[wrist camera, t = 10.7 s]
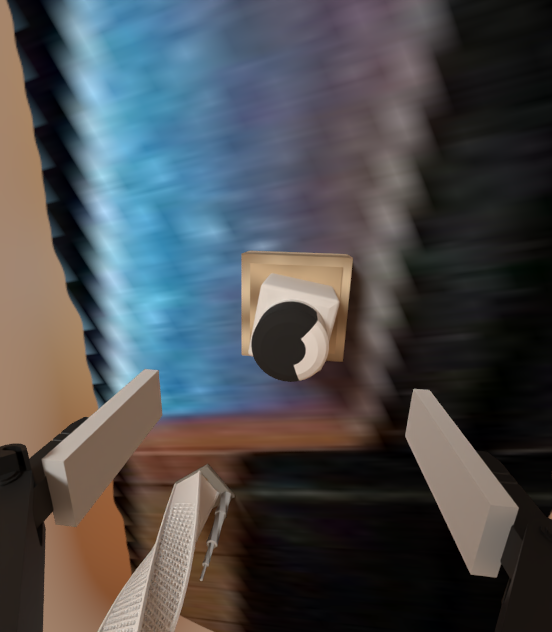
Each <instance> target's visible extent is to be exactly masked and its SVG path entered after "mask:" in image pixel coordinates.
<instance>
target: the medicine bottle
mask: <svg viewBox="0 0 552 632" xmlns="http://www.w3.org/2000/svg"><path fill="white" fill-rule="evenodd" d="M339 304H340V302H339V299H338V297H337V295H336V293H335V291H334V288H333V287H332V286H329V285H324V284H320V283H315V282H311V281H306V280H302V279H297V278H293V277H288V276H284V275H279V274H275V273H271V274H270V275H269V276H268V277H267V279H266V280H265V281H264V282H263V284H262V285H261V288H260V294H259V299H258V304H257V309H256V314H255V319H254V324H253V330H252V335H251V340H250V345H249V350H248V353H249V355H250V356H254V359H255V361H256V363H257V364H258V366H259V367H260V368H261V369H262V370H263V371H264V372H265V373H267V374H268V375H269V376H271V377H273V378H275V379H278V380H282V381H289V382H294V381H301V380H304V379H307V378H309V377H311V376H312V375H314V374H315V373H316V372H318V371H320V370H321V369H322V366H323V365H324V363H325V361H326V359H327V356H328V351H329V341H330V337H331V333H332V330H333V326H334V322H335V319H336V315H337V312H338V308H339Z"/></svg>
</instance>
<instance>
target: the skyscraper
mask: <svg viewBox="0 0 552 632" xmlns="http://www.w3.org/2000/svg"><path fill="white" fill-rule="evenodd" d="M234 496H235V494H234V493H233V492H232V491H231V490H230V489H229V488H228V486H227V485H226V484H225V483H224V482H223V481H222V480H221V478H220V477H219V476H218V475H217V474H216V473H215V472H214V470H213V469H212V468H211V467H210V466H209V465H208V464H207V465H205V466H203V467H202V468H200V469H198V470H196V471H195V472H193V473H191V474H189V475H188V476H186V477H184V478H182V479H181V480H179V481H177V482H176V483H175V484H174V487H173V490H172V493H171V496H170V499H169V502H168V505H167V508H166V511H165V514H164V517H163V520H162V523H161V527H160V530H159V534H158V537H157V541H156V543H155V545H154V547H153V549H152V550H151V552H150V553H149V554H148V555H147V557H146V558H145V559H144V560H143V562H142V563H141V564H140V565H139V567H138V568H137V569H136V571H135V572H134V573H133V575H132V576H131V577H130V579H129V580H128V582H127V583H126V585H125V586H124V587H123V589H122V591H121V592H120V594H119V595H118V597H117V598H116V600H115V602H114V603H113V605H112V607H111V608H110V610H109V611H108V613H107V615H106V617H105V619H104V621H103V622H102V624H101V626H100V628H99V630H98V632H174V631H175V628H176V625H177V621H178V618H179V615H180V611H181V608H182V604H183V601H184V597H185V593H186V589H187V585H188V580H189V575H190V571H191V566H192V560H193V555H194V548H195V543H196V541H197V539H198V537H199V535H200V533H201V531H202V529H203V527H204V525H205V523H206V521H207V519H208V516H209V514H210V512H211V510H212V509H213V508H215V507H216V506H218V507H217V509H216V511H215V520H214V524H213V527H212V530H211V532H210V535H209V537H208V540H207V547H208V550H207V553H206V556H205V559H204V561H203V566H204V568H203V571H202V574H201V577H200V581H203V577H204V573H205V570H206V567H208V566H209V563H210V559H211V554H212V551H213V549H214V548H215V547H217V545H218V540H219V536H220V531H221V527H222V524H223V522H224V520H225V518H226V516H227V511H228V506H229V503H230V501H231V499H232V498H234Z"/></svg>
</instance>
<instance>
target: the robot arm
mask: <svg viewBox="0 0 552 632" xmlns="http://www.w3.org/2000/svg"><path fill="white" fill-rule="evenodd" d="M161 416H162V406H161V394H160V382H159V370H148V369H144V370H143V371H142V372H141V373H140V374H139V375H138V376H136V377H135V378H134V379H133V380H132V381H131V382H129V383H128V384H127V385H126V386H125V387H124V388H123V389H121V390H120V391H119V392H118V393H117V394H116V395H115V396H113V397H112V398H111V399H110V400H109V401H108V402H107V403H105V404H104V405H103V406H102V407H101V408H100V409H98V410H97V411H96V412H95V413H94V414H93V415H92V416H90V417H83V418H82V419H80V420H78V421H76V422H74V423H72V424H70V425H69V426H68V427H67V428H66V429H64V430H63V431H62V432H61V434H59V435H57V436H56V437H55V438H54V439H53V441H50V442H49V443H48V444H47V445H46V446H44V447H43V448H42V449H40V450H39V451H38V452H37V453H36V454H34V455H33V456H32V457H31V458H30V459H29V457H28V452H27V448H26V446H25V445H23V444H9V445H4V446H1V447H0V632H43V603H44V567H45V565H44V564H45V530H46V529H45V524H44V521H45V519H46V518H47V517H48V516H49V515H50V514H51V513H52V512H53V514H54V518H55V523H56V524H57V525H65V526H73V527H77V525H78V524H79V523H80V521H81V520H82V519H83V518H84V516H85V515H86V513H87V512H88V511H89V510H90V508H91V507H92V506H93V504H94V503H95V502H96V500H97V499H98V498H99V497H100V496H101V494H102V493H103V492H104V490H105V489H106V488H107V486H108V485H109V484H110V483H111V481H112V480H113V479H114V477H115V476H116V475H117V473H118V472H119V471H120V470H121V468H122V467H123V466H124V464H125V463H126V462H127V460H128V459H129V458H130V457H131V455H132V454H133V453H134V451H135V450H136V449H137V448H138V446H139V445H140V444H141V442H142V441H143V440H144V438H145V437H146V436H147V435H148V433H149V432H150V431H151V429H152V428H153V427H154V425H155V424H156V423H157V422H158V420H159V419H160V418H161ZM405 437H406V439H407V441H408V443H409V445H410V447H411V450H412V452H413V454H414V456H415V458H416V460H417V462H418V464H419V466H420V469H421V471H422V473H423V475H424V477H425V479H426V481H427V483H428V485H429V488H430V490H431V492H432V494H433V496H434V498H435V500H436V502H437V504H438V506H439V509H440V511H441V513H442V515H443V517H444V519H445V521H446V523H447V525H448V528H449V530H450V532H451V534H452V536H453V538H454V540H455V542H456V544H457V547H458V549H459V551H460V553H461V555H462V557H463V559H464V561H465V563H466V566H467V568H468V570H469V572H470V574H471V575H480V576H488V577H496V578H497V575H498V571H499V568H500V565H501V563H502V565H503V567H504V569H505V570H506V572H507V574H508V575H509V577H510V578H509V581H508V584H507V587H506V590H505V593H504V596H503V599H502V602H501V603H502V606H501V610H500V614H499V617H498V621H497V625H496V629H495V632H552V519H549V518H547V517H546V516H545V515H544V514H543V513H542V511H541V510H540V509H539V508H538V507H537V505H536V504H535V503H534V502H533V501H532V499H531V498H530V497H529V496H528V495H527V493H526V492H525V491H524V490H523V489H522V487H521V486H520V485H518V484H517V481H516V480H515V479H514V478H513V477H512V475H510V473H509V472H508V470H507V469H506V468H505V467H504V466H503V464H502V463H501V462H500V461H499V460H497V459H496V458H495V457H493V456H492V455H491V454H489V453H488V452H484V451H475V449H474V448H473V447H472V445H471V444H470V443H469V442H468V440H467V439H466V438H465V436H464V435H463V434H462V432H461V431H460V430H459V428H458V427H457V426H456V424H455V423H454V422H453V420H452V419H451V418H450V417H449V415H448V414H447V413H446V411H445V410H444V409H443V407H442V406H441V405H440V403H439V402H438V401H437V399H436V398H435V397H434V395H433V394H432V393H431V392H430V390H421V389H413V394H412V400H411V406H410V411H409V417H408V423H407V429H406V434H405Z"/></svg>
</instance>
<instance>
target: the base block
mask: <svg viewBox="0 0 552 632" xmlns="http://www.w3.org/2000/svg"><path fill="white" fill-rule="evenodd" d="M352 262H353V258H352V257H350V256H349V255H347V254H325V253H298V252H271V251H248V252H245V253H242V355H248V356H250V355H249V353H248V350H249V345H250V340H251V335H252V330H253V324H254V319H255V314H256V309H257V304H258V299H259V294H260V288H261V285H262V284H263V282H264V281H265V280H266V279H267V277H268V276H269V275H270V274H271V273H275V274H279V275H284V276H288V277H293V278H297V279H302V280H306V281H311V282H315V283H320V284H324V285H329V286H332V287H333V288H334V291H335V293H336V295H337V297H338V299H339V302H340V304H339V308H338V312H337V315H336V319H335V322H334V326H333V330H332V333H331V337H330V341H329V351H328V356H327V359H326V361H338V362H343V353H344V343H345V333H346V323H347V313H348V303H349V292H350V282H351V272H352Z"/></svg>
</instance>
